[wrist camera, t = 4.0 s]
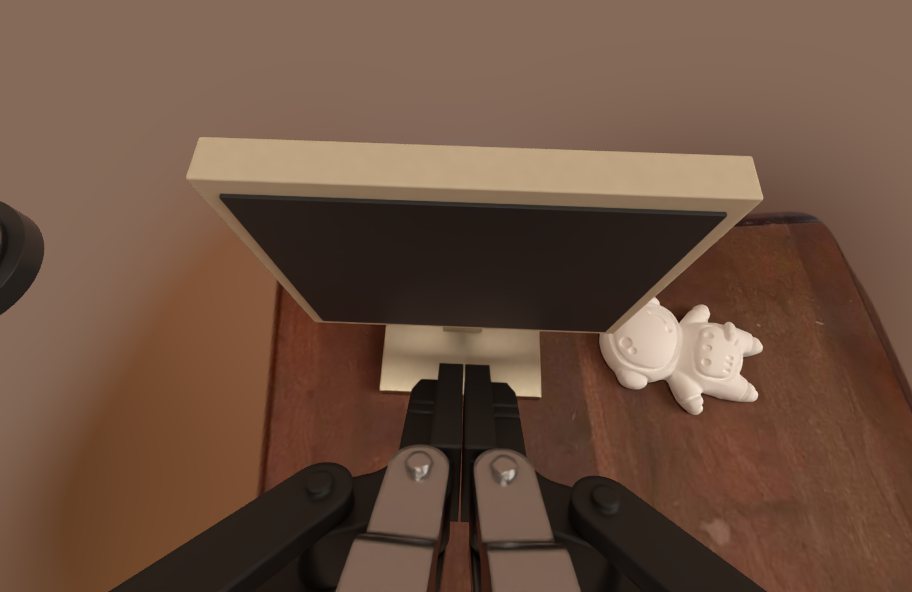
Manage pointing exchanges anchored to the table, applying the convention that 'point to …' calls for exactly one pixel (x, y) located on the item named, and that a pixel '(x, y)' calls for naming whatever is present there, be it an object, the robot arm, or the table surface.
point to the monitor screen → (471, 227)
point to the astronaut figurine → (681, 355)
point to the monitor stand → (460, 356)
